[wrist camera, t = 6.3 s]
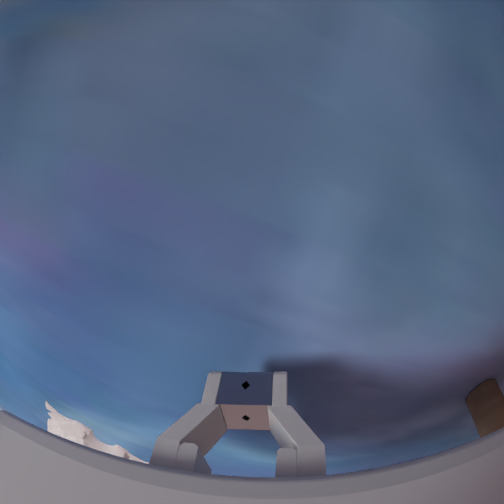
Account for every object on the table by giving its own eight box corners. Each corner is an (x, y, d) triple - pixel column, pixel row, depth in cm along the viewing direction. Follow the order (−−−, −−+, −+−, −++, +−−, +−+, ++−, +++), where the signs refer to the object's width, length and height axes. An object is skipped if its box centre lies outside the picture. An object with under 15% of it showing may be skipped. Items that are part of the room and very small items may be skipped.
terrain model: (214, 497, 29) (211, 527, 25) (54, 440, 26) (43, 469, 21) (272, 470, 22) (271, 515, 18) (35, 385, 18) (12, 427, 14)
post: (475, 384, 13) (514, 483, 6) (501, 375, 13) (542, 465, 6) (460, 407, 14) (491, 499, 7) (486, 398, 14) (519, 483, 7)
